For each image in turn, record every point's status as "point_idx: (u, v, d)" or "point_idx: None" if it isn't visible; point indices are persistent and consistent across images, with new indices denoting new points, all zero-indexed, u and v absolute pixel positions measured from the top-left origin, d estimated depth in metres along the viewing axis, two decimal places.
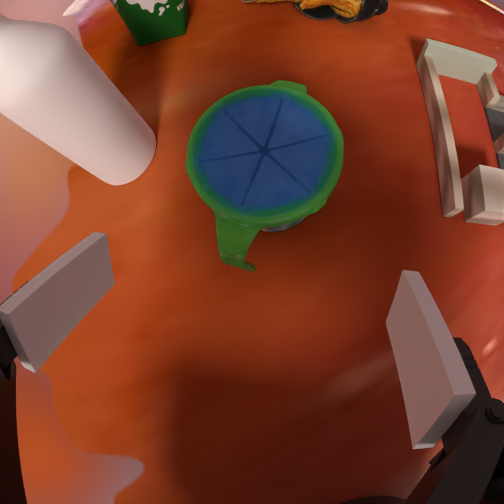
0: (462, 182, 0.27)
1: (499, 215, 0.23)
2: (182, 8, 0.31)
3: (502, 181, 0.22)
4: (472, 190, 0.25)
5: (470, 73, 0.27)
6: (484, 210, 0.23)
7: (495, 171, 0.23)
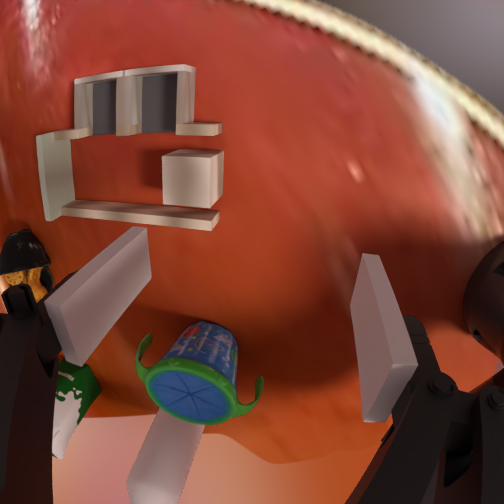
0: None
1: (213, 177, 0.27)
2: (71, 375, 0.46)
3: (175, 174, 0.27)
4: None
5: (61, 153, 0.30)
6: (210, 206, 0.28)
7: (166, 182, 0.27)
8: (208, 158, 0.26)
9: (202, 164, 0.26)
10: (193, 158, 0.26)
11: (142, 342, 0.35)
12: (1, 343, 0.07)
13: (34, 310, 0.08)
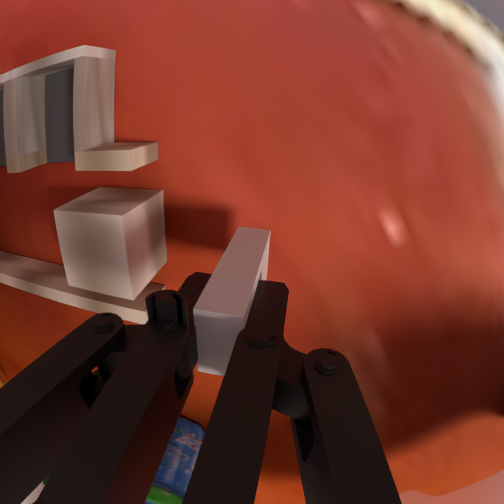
0: None
1: (137, 246, 0.15)
2: None
3: (75, 242, 0.14)
4: None
5: None
6: (134, 296, 0.15)
7: (66, 253, 0.15)
8: (119, 216, 0.13)
9: (111, 226, 0.13)
10: (95, 216, 0.13)
11: None
12: (131, 355, 0.07)
13: (183, 324, 0.08)
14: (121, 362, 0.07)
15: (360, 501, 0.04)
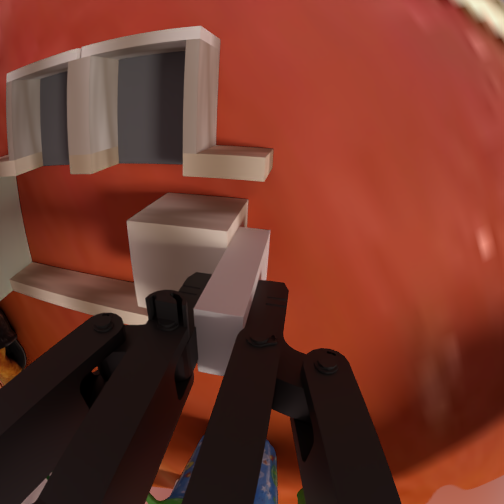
0: None
1: None
2: None
3: (155, 259, 0.13)
4: None
5: (0, 196, 0.17)
6: None
7: (139, 271, 0.14)
8: (222, 232, 0.12)
9: (210, 243, 0.13)
10: (189, 231, 0.13)
11: None
12: (131, 355, 0.07)
13: (183, 324, 0.08)
14: (121, 362, 0.07)
15: (360, 501, 0.04)
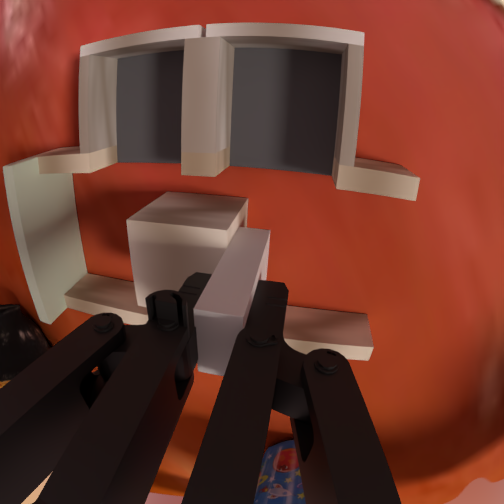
0: None
1: None
2: None
3: (155, 258, 0.13)
4: None
5: (55, 197, 0.16)
6: None
7: (139, 270, 0.14)
8: (222, 231, 0.12)
9: (209, 241, 0.13)
10: (189, 229, 0.12)
11: None
12: (132, 355, 0.07)
13: (183, 324, 0.08)
14: (121, 362, 0.07)
15: (360, 501, 0.04)
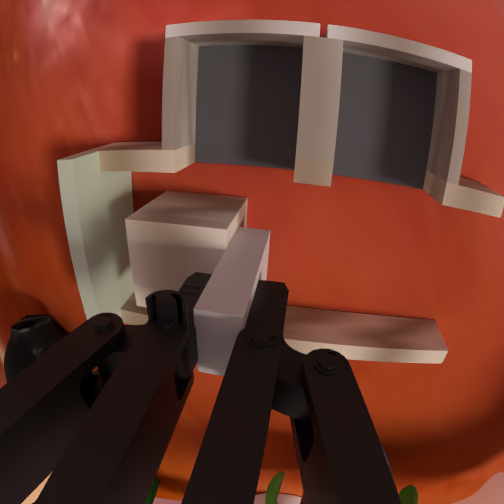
0: None
1: None
2: None
3: (154, 257, 0.13)
4: None
5: (115, 199, 0.15)
6: None
7: (138, 270, 0.14)
8: (221, 230, 0.12)
9: (209, 241, 0.12)
10: (188, 229, 0.12)
11: (277, 491, 0.20)
12: (131, 355, 0.07)
13: (183, 324, 0.08)
14: (121, 362, 0.07)
15: (360, 501, 0.04)
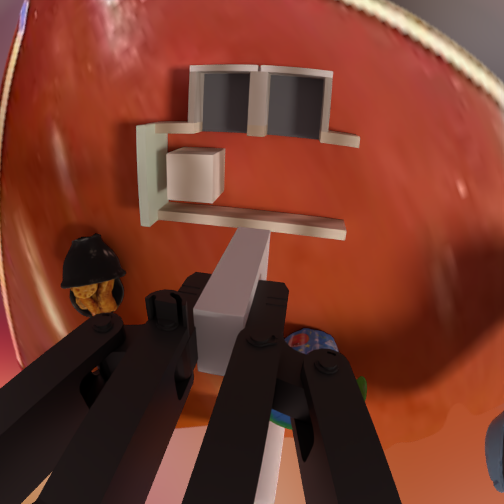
0: None
1: (215, 174, 0.29)
2: None
3: (179, 171, 0.28)
4: None
5: (160, 149, 0.30)
6: (212, 201, 0.29)
7: (170, 179, 0.28)
8: (211, 155, 0.27)
9: (205, 161, 0.27)
10: (196, 156, 0.27)
11: None
12: (131, 355, 0.07)
13: (183, 324, 0.08)
14: (121, 362, 0.07)
15: (360, 501, 0.04)
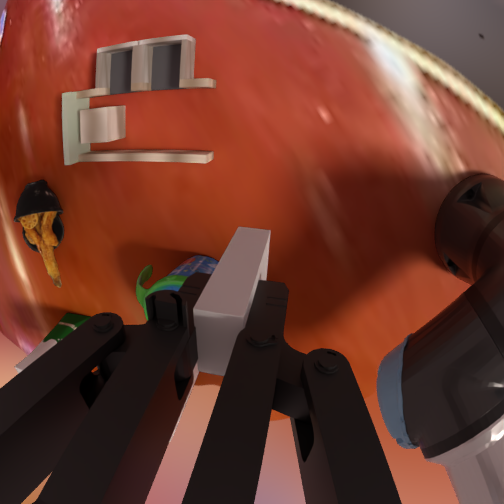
0: None
1: (111, 121, 0.34)
2: (74, 324, 0.51)
3: (87, 121, 0.34)
4: None
5: None
6: (108, 141, 0.35)
7: (82, 128, 0.34)
8: (105, 107, 0.33)
9: (102, 112, 0.33)
10: (97, 109, 0.33)
11: (143, 271, 0.40)
12: (131, 355, 0.07)
13: (183, 324, 0.08)
14: (121, 362, 0.07)
15: (360, 501, 0.04)
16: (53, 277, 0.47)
